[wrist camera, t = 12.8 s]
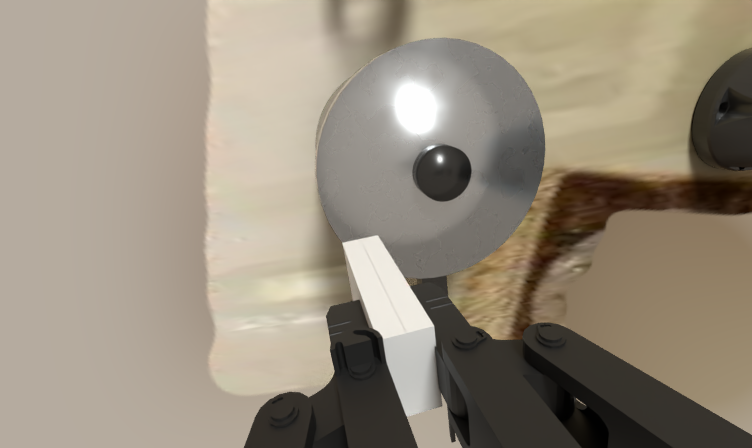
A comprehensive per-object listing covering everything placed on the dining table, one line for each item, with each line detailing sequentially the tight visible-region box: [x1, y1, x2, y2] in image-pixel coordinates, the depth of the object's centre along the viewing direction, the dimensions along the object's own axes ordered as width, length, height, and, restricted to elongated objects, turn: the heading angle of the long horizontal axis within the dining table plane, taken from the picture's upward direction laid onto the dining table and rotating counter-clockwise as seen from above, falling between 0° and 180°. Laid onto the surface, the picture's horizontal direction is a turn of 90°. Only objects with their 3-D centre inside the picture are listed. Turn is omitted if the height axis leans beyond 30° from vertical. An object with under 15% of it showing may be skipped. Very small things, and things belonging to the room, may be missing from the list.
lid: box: [315, 38, 545, 279], centre depth 29 cm, size 18×18×3 cm
